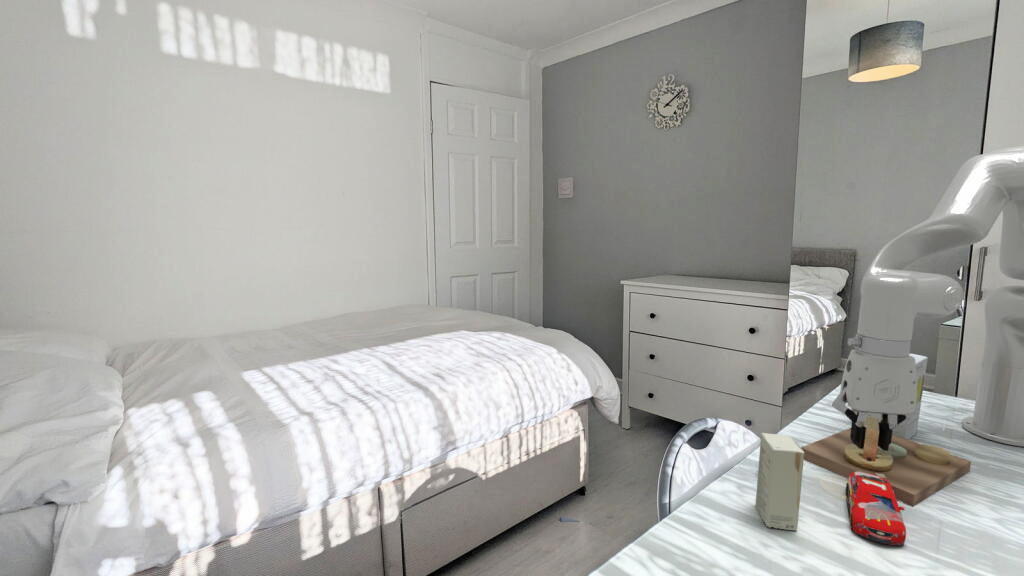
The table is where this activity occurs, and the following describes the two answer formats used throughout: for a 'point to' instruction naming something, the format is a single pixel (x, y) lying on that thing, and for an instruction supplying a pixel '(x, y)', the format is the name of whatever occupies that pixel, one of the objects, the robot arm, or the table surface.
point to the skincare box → (779, 481)
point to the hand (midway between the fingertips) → (869, 445)
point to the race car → (874, 509)
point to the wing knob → (869, 450)
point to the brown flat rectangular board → (895, 465)
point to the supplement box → (911, 424)
